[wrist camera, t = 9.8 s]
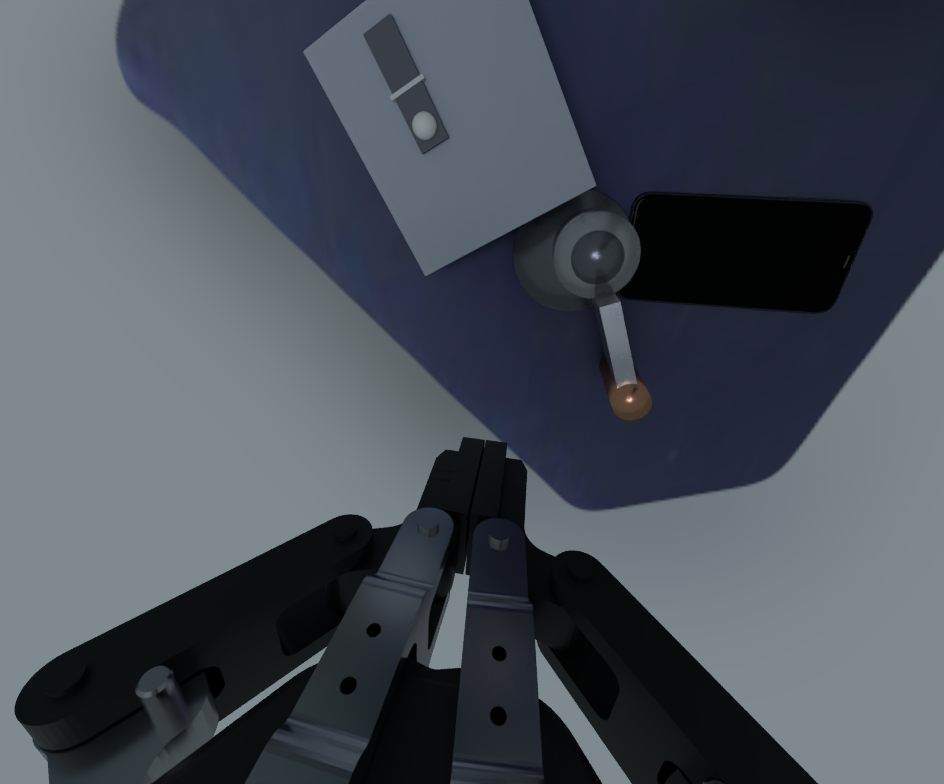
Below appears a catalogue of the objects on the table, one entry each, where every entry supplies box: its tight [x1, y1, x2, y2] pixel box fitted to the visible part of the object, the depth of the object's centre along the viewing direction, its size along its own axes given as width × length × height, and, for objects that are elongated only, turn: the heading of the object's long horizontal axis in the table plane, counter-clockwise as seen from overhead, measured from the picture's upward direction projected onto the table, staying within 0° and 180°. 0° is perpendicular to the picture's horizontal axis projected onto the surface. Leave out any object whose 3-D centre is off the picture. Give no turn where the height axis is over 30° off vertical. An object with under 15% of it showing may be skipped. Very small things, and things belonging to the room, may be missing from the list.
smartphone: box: [617, 192, 873, 314], centre depth 30 cm, size 7×1×15 cm
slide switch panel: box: [303, 0, 596, 276], centre depth 26 cm, size 12×14×6 cm
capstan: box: [513, 190, 652, 421], centre depth 28 cm, size 14×8×8 cm, turn 19°
